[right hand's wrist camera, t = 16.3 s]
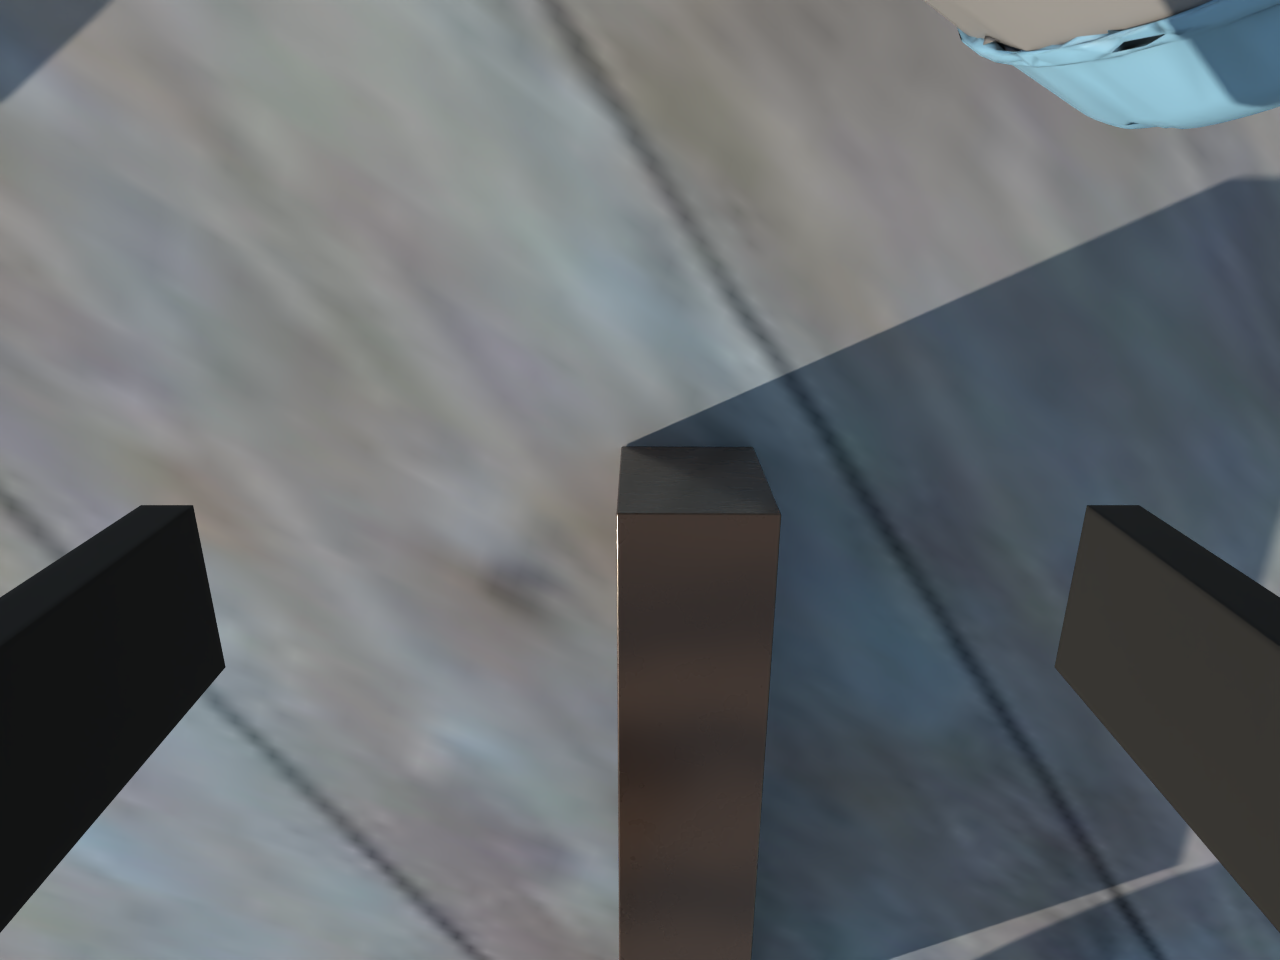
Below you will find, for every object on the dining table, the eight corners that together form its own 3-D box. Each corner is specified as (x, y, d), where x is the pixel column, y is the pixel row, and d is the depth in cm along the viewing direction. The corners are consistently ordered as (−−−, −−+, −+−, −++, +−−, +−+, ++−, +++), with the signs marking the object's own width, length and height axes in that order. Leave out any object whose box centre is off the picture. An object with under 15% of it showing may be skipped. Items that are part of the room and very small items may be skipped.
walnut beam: (621, 446, 38) (616, 513, 30) (753, 447, 38) (781, 514, 30) (623, 1014, 50) (620, 1162, 42) (723, 1014, 50) (737, 1162, 42)
